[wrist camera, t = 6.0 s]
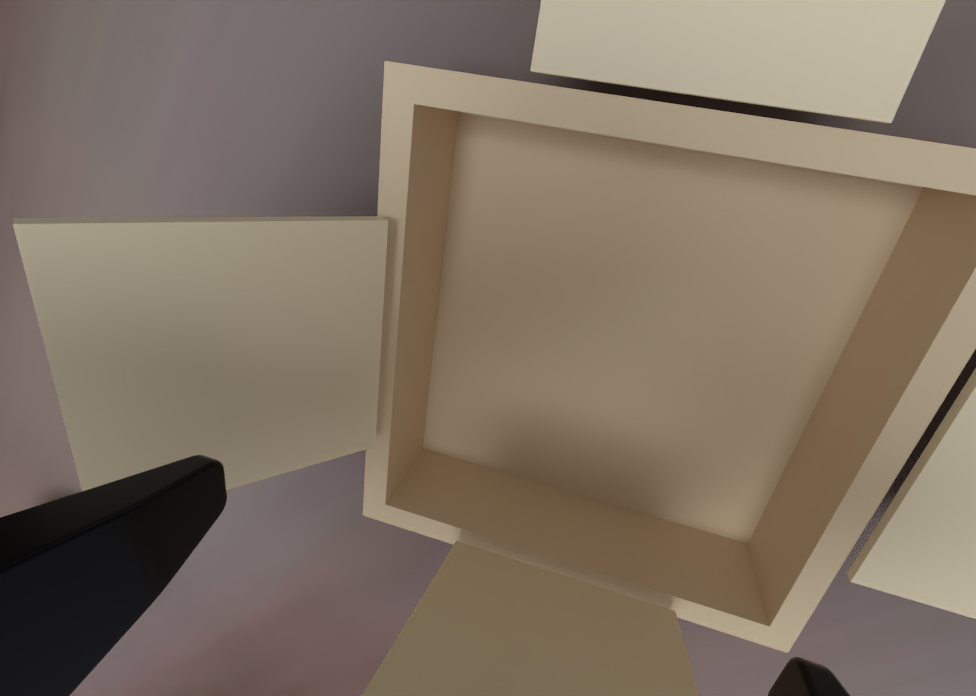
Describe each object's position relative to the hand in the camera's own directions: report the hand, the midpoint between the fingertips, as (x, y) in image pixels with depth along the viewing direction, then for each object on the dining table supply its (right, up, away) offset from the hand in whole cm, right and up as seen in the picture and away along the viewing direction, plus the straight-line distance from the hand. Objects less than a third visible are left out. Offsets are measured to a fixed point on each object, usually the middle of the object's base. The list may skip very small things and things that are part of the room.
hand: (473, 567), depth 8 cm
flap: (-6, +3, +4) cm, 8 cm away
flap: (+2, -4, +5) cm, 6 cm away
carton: (+8, +6, +7) cm, 13 cm away
